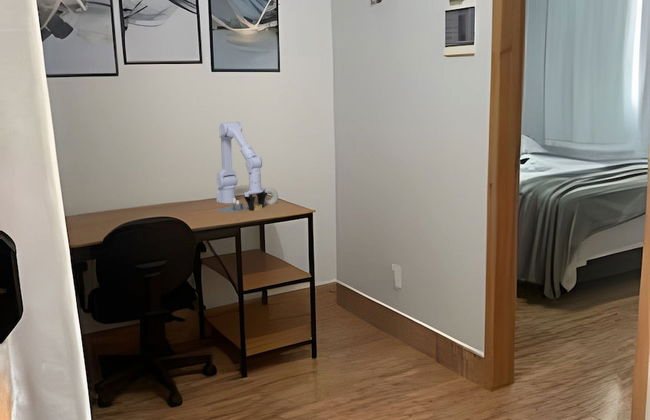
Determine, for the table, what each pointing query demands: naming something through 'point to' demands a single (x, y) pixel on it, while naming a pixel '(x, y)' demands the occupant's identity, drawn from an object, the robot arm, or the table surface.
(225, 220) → the table surface
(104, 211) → the table surface
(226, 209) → the gear board
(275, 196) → the donut
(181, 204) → the table surface
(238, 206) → the fixed gear
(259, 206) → the brass gear
